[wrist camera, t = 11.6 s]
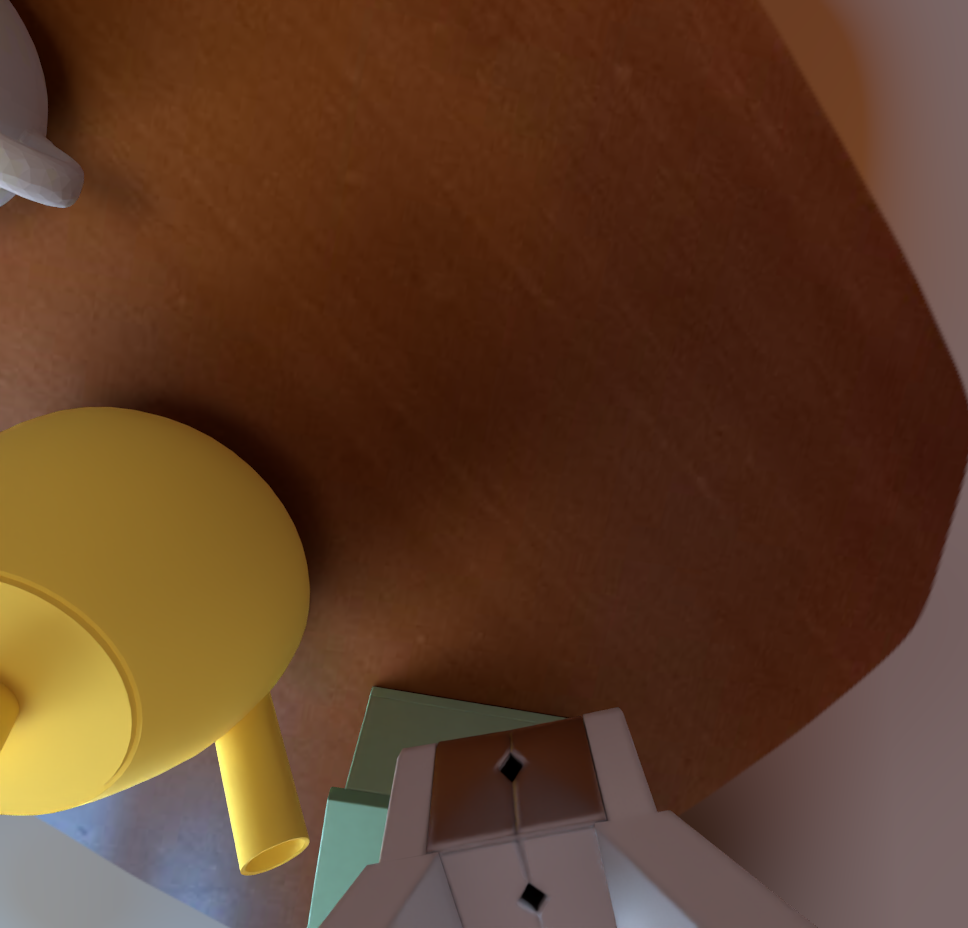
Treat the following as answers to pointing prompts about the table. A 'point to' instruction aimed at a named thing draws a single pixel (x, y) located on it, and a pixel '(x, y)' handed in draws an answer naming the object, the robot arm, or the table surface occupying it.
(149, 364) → the table surface
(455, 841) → the robot arm
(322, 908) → the lunchbox lid
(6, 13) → the teacup
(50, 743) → the teapot
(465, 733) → the lunchbox
